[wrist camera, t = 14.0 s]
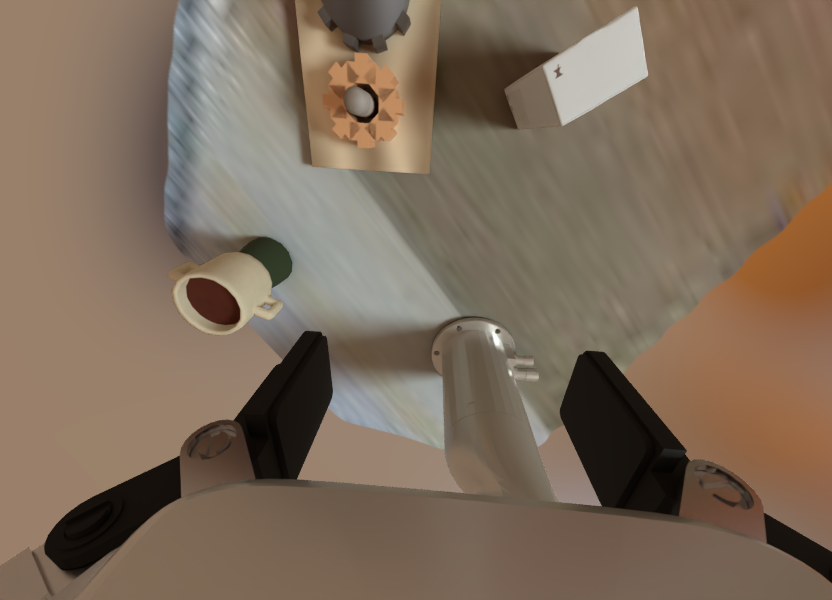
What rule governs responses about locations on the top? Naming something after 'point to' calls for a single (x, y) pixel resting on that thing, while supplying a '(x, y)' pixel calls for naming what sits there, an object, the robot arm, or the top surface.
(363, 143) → the loose gear
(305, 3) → the gear board
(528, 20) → the top surface
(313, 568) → the robot arm
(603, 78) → the skincare box
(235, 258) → the character mug
